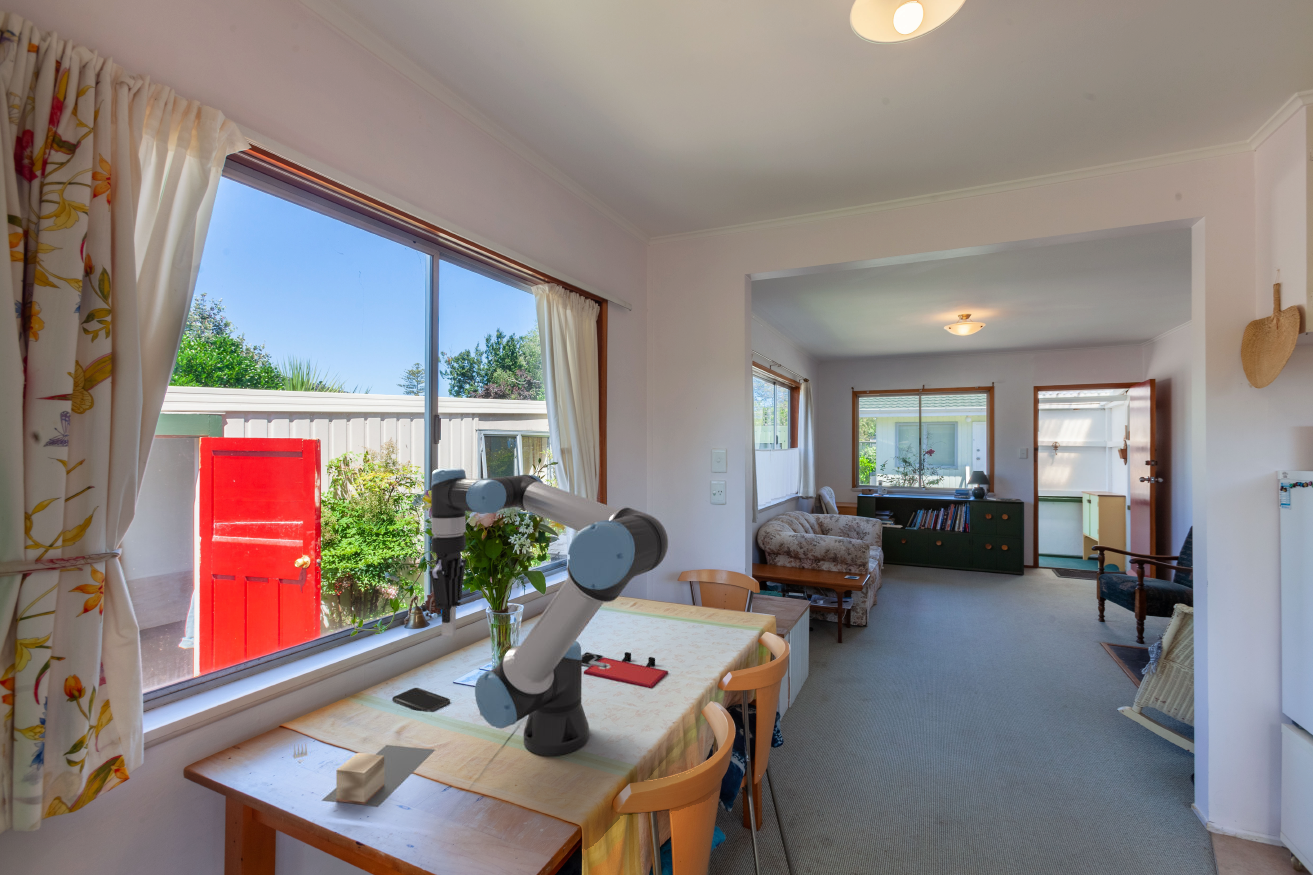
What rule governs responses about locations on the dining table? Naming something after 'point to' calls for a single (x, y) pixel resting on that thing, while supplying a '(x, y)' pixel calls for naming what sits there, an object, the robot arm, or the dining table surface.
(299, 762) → the fork
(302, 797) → the dining table surface
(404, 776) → the mat
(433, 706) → the phone
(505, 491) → the robot arm
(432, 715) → the dining table surface
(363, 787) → the cube
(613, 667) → the red board with handle
